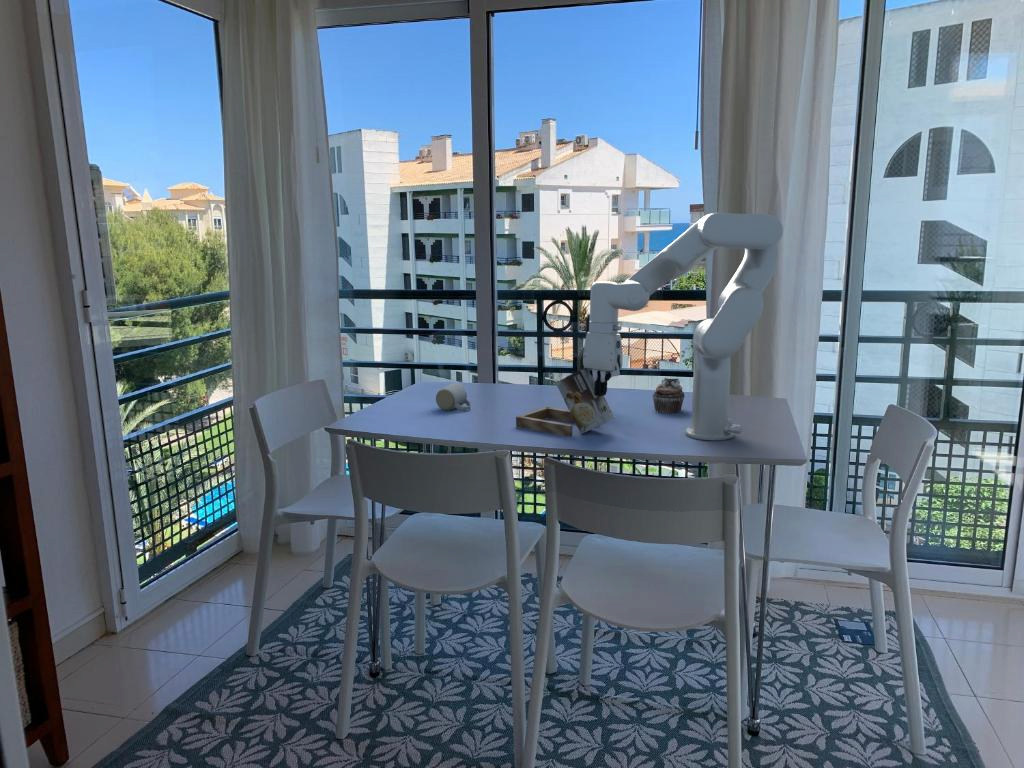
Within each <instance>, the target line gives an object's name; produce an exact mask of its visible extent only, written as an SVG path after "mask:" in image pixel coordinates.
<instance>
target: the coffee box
mask: <svg viewBox="0 0 1024 768" xmlns="http://www.w3.org/2000/svg"><path fill="white" fill-rule="evenodd" d="M555 385H556V387H557V388H558V391H559V393H560V395H561V397H562V398H563V401H564V403H565V406H566V407H567V410H569V411H570V413H571V415H572V417H573V419H574V421H575V424H576V427H577V429H578V431H579V433H580V434H581V435H583V434H585V433H586V432H589V431H591V430H593V429H595V428H597V427H600V426H601V425H602V426H603V425H604V424H607V423H608V422H610V421H611V420H613V419H615V415H614V414H613V411H612V410H611V408H610V405H609V403H608V402H607V399H606V398H605V395H604V396H595V381H594V380H593V377H592V376H591V374H590V373H587V372H586V371H585V369H584V368H583V369H581V370H579V371H575V372H573V373H570V374H569V375H567V376H566V377H563V378H562V379H560V380H557V382H555Z"/></svg>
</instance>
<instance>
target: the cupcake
mask: <svg viewBox="0 0 1024 768" xmlns="http://www.w3.org/2000/svg"><path fill="white" fill-rule="evenodd" d="M680 382H681V381H680V379H679V378H667V377H664V378H662V379H661V383H659V384H658V385H657V387H656V388H655V391H654V393H653V394H652V399H653V406H654V409H655V410H656V411H658V412H657V413H659V412H662V413H661V414H665V413H674V414H678V413H677V412H679V413H681V412H680V411H682V408H683V404H684V403H683V402H684V400H685V393H684V391H683V387H682V385H680V384H681V383H680ZM656 411H655V412H656Z"/></svg>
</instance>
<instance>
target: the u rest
mask: <svg viewBox="0 0 1024 768" xmlns="http://www.w3.org/2000/svg"><path fill="white" fill-rule="evenodd" d="M546 419H552V421H551V420H546ZM553 420H556V421H553ZM557 421H563V422H568V423H575V421H574V419H573V417H572V415H571V413H570V411H569V409H563V408H558V407H549V406H545V407H541V408H539V409H536V410H532V411H530V412H526V413H524V414H520V415H518V416H515V427H516V428H519V427H520V429H525V428H526V430H530V429H531V430H530V431H535V430H536V431H537V432H540V433H546V432H547V434H552V435H558V436H562V435H563V437H567V436H570V437H573V424H568V423H562V422H557ZM575 424H576V423H575Z"/></svg>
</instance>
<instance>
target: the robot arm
mask: <svg viewBox="0 0 1024 768" xmlns="http://www.w3.org/2000/svg"><path fill="white" fill-rule="evenodd" d="M783 234H784V227H783V224H782V222H781V221H780V219H779V218H777V217H776V216H774V215H772V214H768V213H767V214H765V213H763V214H762V213H730V212H712V213H708V214H706V215H704V216H702V217H701V218H700V219H699V220H697V221H696V222H695V223H693V224H692V225H691V226H690V227H689V228H687V230H686V231H684V232H683V233H682V234H680V235H679V236H678V237H677V238H676V239H674V240H673V242H671V243H670V244H669V245H667V246H666V247H665V248H664V249H662V250H661V251H660V252H659V253H658V254H657V255H655V256H654V257H653V258H652V259H650V260H649V261H648V262H647V263H645V264H644V265H643V266H642V267H640V268H639V269H638V270H637V271H636V272H635V273H633V274H632V275H631V276H629V277H628V278H627V279H625V281H624V282H623V283H617V282H615V281H606V280H605V281H594V282H593V283H592V284H591V285H590V300H589V301H590V302H589V314H590V322H589V332H587V336H586V340H584V346H583V347H584V353H583V365H584V369H585V371H586V372H587V373H590V374H591V376H592V377H593V380H594V381H595V396H604V397H605V396H606V395H607V391H608V381H610V380H611V378H614V377H618V376H620V375H621V372H620V370H621V369H622V368H623V345H622V337H621V334H620V333H618V332H620V331H621V330H622V329H623V328H622V327H623V326H621V325H619V321H618V320H619V310H623V311H630V312H638V311H641V310H643V309H644V308H645V307H647V305H648V303H649V301H650V297H651V296H652V295H653V294H654V293H655V292H657V290H659V289H660V288H661V287H663V286H665V285H666V284H668V283H670V282H671V281H673V280H674V279H677V278H681V277H683V276H684V275H685V274H687V273H688V272H689V271H691V270H692V269H693V268H695V266H697V265H698V264H699V263H700V262H701V261H703V260H704V259H705V258H706V257H708V255H710V254H712V253H713V252H714V251H715V250H716V249H718V248H723V249H744V254H743V255H744V256H743V259H742V261H741V263H740V265H739V266H738V268H737V269H736V272H735V273H734V274H733V276H732V278H731V279H730V280H729V281H728V284H727V285H726V286H725V287H724V289H722V290H723V291H722V292H721V293H720V296H719V297H718V301H717V304H718V309H719V310H718V311H717V313H716V314H715V316H714V318H713V317H711V318H707V319H704V320H702V321H701V322H700V323H698V324H697V326H696V327H695V329H694V332H693V336H692V349H693V352H692V353H693V377H692V379H693V380H692V407H691V408H692V410H691V412H692V413H691V425H690V426H688V427H687V428H686V429H685V435H687V436H689V437H690V438H692V439H697V440H703V441H724V440H729V439H732V438H733V437H734V436H735V434H736V435H741V434H742V433H743V427H742V425H740V424H734V423H733V418H729V412H730V411H729V409H730V389H731V388H730V385H731V367H732V366H731V358H732V356H733V355H734V354H736V352H737V351H738V350H739V348H740V347H741V346H742V344H743V343H744V342H745V340H746V339H747V337H748V336H749V334H750V332H751V331H752V330H753V328H754V326H755V325H756V323H757V322H758V321H759V319H760V318H761V315H762V312H763V309H764V299H763V296H762V293H763V292H764V291H765V289H766V288H767V286H768V284H769V283H770V281H771V279H772V278H773V275H774V274H775V271H776V269H777V266H778V261H779V246H778V244H779V242H781V240H782V238H783ZM601 371H602V372H601Z"/></svg>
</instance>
